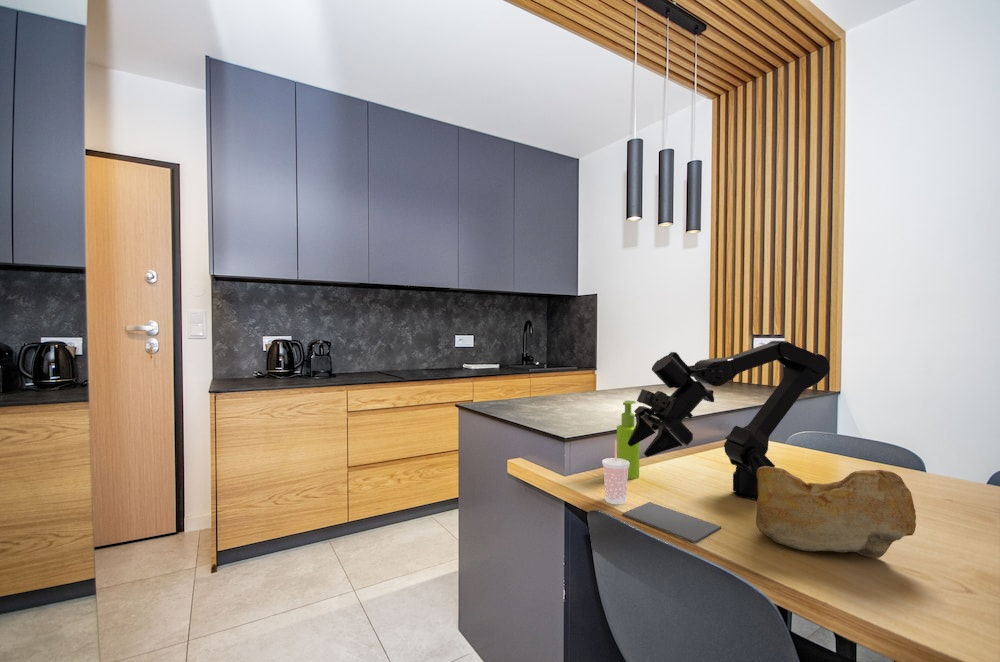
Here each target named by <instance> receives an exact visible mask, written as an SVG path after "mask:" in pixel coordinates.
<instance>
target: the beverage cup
mask: <svg viewBox="0 0 1000 662" xmlns="http://www.w3.org/2000/svg"><path fill="white" fill-rule="evenodd" d="M601 463H602V464H601V465H602V466H603V480H604V495H605V496H604V498H605V502H607V503H609V504H612V505H624V504H626V503H627V493H628V480H629V479H628V468H629V464H630V463H629V461H627V460H624V459H619V458H617V439H614V457H607V458H603V459H602V460H601Z"/></svg>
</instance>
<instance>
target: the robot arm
mask: <svg viewBox="0 0 1000 662" xmlns="http://www.w3.org/2000/svg"><path fill="white" fill-rule="evenodd" d="M774 361H777V362H778V363H779V364H780V365H782V366H783V370H782V379H781V381H780V383H779V384H778V385H777V387H775V389H774V390H773V391H772V393H771V394H770V396H769V397H768V398H767V400H766V401H765V402H764V403H763V405H762V406H761V407H760V409H759V410H758V411H757V413H756V414H755V416H754V417H753V418H752V419H751V421H750V422H749V423H748V424H747V425H745V426H744V427H742V426H739V425H735V426H734V427H732V430H731V431H730V433H729V434H728V435H727V436H725V439H726V440H725V442H724V444H723V448H724V452H725V455H726V456H727V457H728V458H729V462H730V464H731V465H733V466H735V471H734V472H733V474H732V491H733V492H734V496H735V497H740V498H745V499H750V500H756V501H757V500H758V479H757V470H758V468H760V467H762V466H769V467H775V466H776V465H775V463H773V462H772V461H771V459H769V458H768V457H767V453H768V450H769V438H770V437H771V436H772V433H773V432H774V431H775V430H776V428H777V427H778V426H779V424H780V423H781V422H782V420H783V419H784V418H785V417H786V415H787V413H789V411H790V410H791V408H792V407H793V405H794V404H795V403H796V401H798V400H799V398H800V396H802V394H803V392H804V391H806V390H808V389H809V388H811V387H814V386H816V385H817V384H819V383H820V382H821V381H822V380H823V379H824V378H825V377H826V376H827V375H828V374H829V372H830V369H831V367H830V363H829V360H828V358H827V357H826V356H824V354H820V353H814V352H813V351H809V350H807V349H804V348H801V347H798V346H797V345H795V344H794V343H791V342H789V341H786V340H771V341H769V342H768V343H764V344H763V345H759V346H756V347H753V348H751V349H748V350H744V351H741V352H738V353H736V354H733V355H730V356H725V357H716V358H715V357H714V358H708V359H707V358H706V359H701V360H698V361H696V362H695V363H694V364H693V365H687V363H686V362H685V361H684V360H683V359H682V358H681V357H680V355H679V354H678V353H677V352H675V351H670V352H669V353H668V354H667V355H665V356H663V357H661V358H660V359H658V360H656V361H655V362H654V364H653V365H652V367H651V371H652V372H653V373H654V374H655V375H656V376H657V377H658V379H660V381H661V382H662V383H663V384H664V385H665V386H666V387H667V388H668V389H672V388H674V389H675V390H674V391H673V392H672V394H670V395H668V394H667V393H666V392H663V391H660V390H657V391H656V392H655V393H654V392H652V391H649V390H646V389H644V388H642V389H641V390H640V393H639V394H638V397H637V399H636V402H637V403H640V404H644V405H645V406H644V405H639V406H638V407H636V409H635V410H634V411H633V412H634V415H635V421H636V422H635V423H636V424H635V428H634V430H633V432H632V435H631V437H630V439H629V441H628V445H629V446H633V445H635V444H637V443H639V444H640V442H642V441H644V440H645V439H647V438H648V437H650V436H652V435H654V434H656V431H657V435H656V436H655V437H654V438H653V439H652V441H651V442H650V443H649V445H648V447H646V449H645V451H644V452H643V454H644V456H645V457H647V458H649V457H652V456H655V455H657V454H660V453H663V452H665V451H669V450H672V449H675V448H678V447H680V448H681V447H684V446H686V447H688V446H689V445H690V444H691V442H692V441H693V439H694V437H693V436H694V434H693V432H692V431H691V430H690V429H689V428H688V427H687V426H686V425H685V424H684V423H683V421H684V420H685V419H686V418H687V419H691V418H692V417H694V415H693V413H692V412H693V411H694V410H695V408H697V406H698V405H699V404H701V403H702V402H703V401H705V402H710V403H715V397H714V390H712V389H708V388H706V387H705V386H704V385H708V386H711V387H712V386H713V387H721V386H723V385H725V384H727V383H728V382H731V381H733V380H734V379H735V377H736V376H737V375H740V373H743V372H746V371H748V370H751V369H754V368H758V367H760V366H763V365H766V364H769V363H771V362H774ZM693 378H694V379H693ZM647 406H648V407H647ZM775 468H776V467H775Z"/></svg>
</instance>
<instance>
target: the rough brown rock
mask: <svg viewBox="0 0 1000 662" xmlns="http://www.w3.org/2000/svg"><path fill="white" fill-rule="evenodd" d="M757 479H758V500H756V514H755V524H756V525H755V526H756V529H758V532H759V533H761V534H763V535H765V536H767V537H768V538H770V539H771V540H772V541H773V542H775V543H777V544H780V545H783V546H786V547H789V548H793V549H795V550H799V551H806V552H819V551H820V552H821V551H822V552H836V553H837V552H838V553H848V552H849V553H850V552H855V553H857V554H859V555H861V556H863V557H868V558H873V559H880V558H881V557H883V556H884V554H886V553H887V551H888V550H889V548H890V547H891V545H892V544H893V543H894V542H897V541H900V540H901V539H902V538H904V537H907V536H910V537H911V536H913V535H914V533H915V531H916V527H917V523H916V521H917V517H916V516H917V515H916V509H915V505H914V499H913V496H912V492H911V491H910V489H909V488H908V487H907V485H906V483H905V482H904V480H903V478H902V477H901V476H900V475H899V474H897V473H895V472H894V471H890V470H886V469H876V470H874V469H873V470H871V469H870V470H866V469H865V470H855V471H853V472H850V473H849V474H848V475H847V476H846V477H845V478H843V479H841V480H838V481H833V482H830V483H829V482H828V483H820V482H819V483H818V482H815V483H813V482H808V483H807V482H805V481H804V480H803V479H802V478H800V477H798V476H796V475H793V474H792V473H790V472H788V471H787V470H786V469H784V468H781V467H769V466H762V467H760V468H758V470H757Z"/></svg>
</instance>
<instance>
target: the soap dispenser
mask: <svg viewBox="0 0 1000 662" xmlns="http://www.w3.org/2000/svg"><path fill="white" fill-rule="evenodd" d="M633 404H636V401H635V400H625V401H624V402H623V403H622V405H624V412H623V413H621V424H618V425H617V426H616V440H617V458H619V459H624V460H627V461H629V463H630V464H629V468H628V480H635V479H639V478H640V442H639V443H637V444H635V445H633V446H629V445H628V441H629V439H630V437H631V435H632V432H633V430H634V428H635V426H636V424H635V423H636V422H635V421H636V417H635V413H633V412H632V405H633Z"/></svg>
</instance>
